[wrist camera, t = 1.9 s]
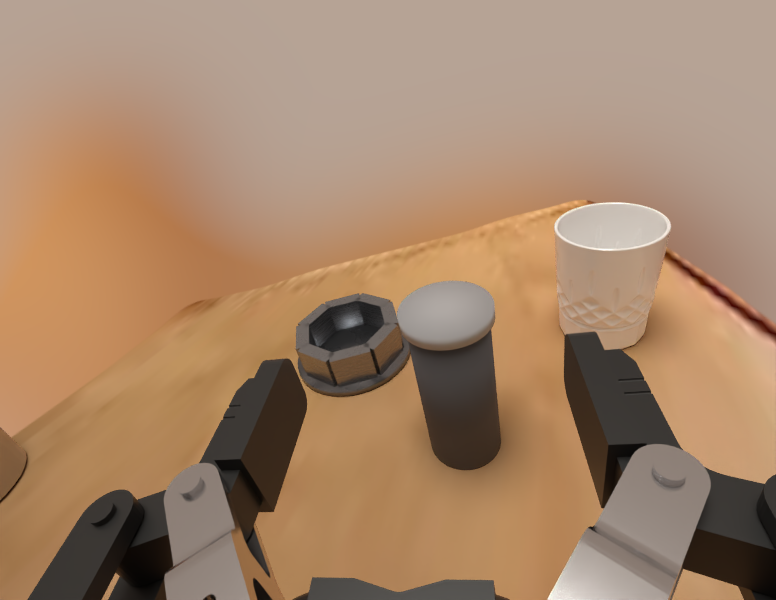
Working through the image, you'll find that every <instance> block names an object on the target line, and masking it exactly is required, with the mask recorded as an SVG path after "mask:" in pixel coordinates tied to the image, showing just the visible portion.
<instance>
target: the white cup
mask: <svg viewBox="0 0 776 600" xmlns="http://www.w3.org/2000/svg"><path fill="white" fill-rule="evenodd" d="M670 230H671V223H670V221H669V219H668V218H667V217H666V216H665V215H664V214H662V213H661V212H659V211H657V210H654V209H652V208H649V207H646V206H642V205H637V204H631V203H616V202H612V203H597V204H591V205H586V206H582V207H578V208H575V209H573V210H570V211H568V212H566V213H565V214H563V215H562V216H560V217H559V218H558V219H557V221H556V222H555V225H554V233H555V258H556V282H557V297H558V302H559V320H560V327H561V329H562V331H563V333H564V334H565V335H566V334H571V333H582V332H593V331H595V332H596V333H597V334H598V336H599V339H600V341H601V343H602V345H603V348H604V350H611V349H623V348H626V347H629V346H632V345H634V344H636V343H637V341H638V340H639V339H640V338H641V337H642V336H643V335H644V333H645V328H646V323H647V319H648V314H649V311H650V308H651V306H652V303H653V300H654V296H655V291H656V288H657V285H658V281H659V277H660V273H661V268H662V264H663V260H664V255H665V251H666V246H667V242H668V238H669V233H670Z"/></svg>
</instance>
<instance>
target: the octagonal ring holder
mask: <svg viewBox="0 0 776 600" xmlns="http://www.w3.org/2000/svg"><path fill="white" fill-rule="evenodd" d="M325 303H326V305H325V304H321V305H320V306H319V307H318V308H316V309H315V310H314V311H313V312H312V313H310V314H309V315H308V316H307V317H306V318H304V319H303V320H302V321H301V322H300V323H298V325H299V326H297V327H296V351H297V353H298V356H299V358H298V369H299V373H300V375H301V377H302V379H303V381H304V382H305V384H306V385H307V386H308V387H309V388H311V389H312V390H314V391H316V392H318V393H321V394H324V395H328V396H337V397H338V396H353V395H357V394H362V393H365V392H368V391H371V390H373V389H376V388H378V387H380V386H381V385H383V384H385V383H386V382H388V381H389V380H391V379H392V378H393V377H394V376H396V375H397V374H398V373H399V372H400V371H401V370H402V368H403V367H404V366H405V364H406V362H407V361H408V358H409V356H410V348H409V344H408V341H407V340H406V339H405V338H404V337H403V335H402V333H401V331H400V327H399V323H398V320H397V316H396V313H395V310H394V307H393V303H392V302H390V300H388V299H384V298H380V297H376V296H372V295H368V294H364V293H362V294H361V295H359V293H358V294H355V295H351V296H347V297H343V298H339V299H335V300H331V301H327V302H325Z"/></svg>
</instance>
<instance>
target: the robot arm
mask: <svg viewBox="0 0 776 600" xmlns="http://www.w3.org/2000/svg"><path fill="white" fill-rule="evenodd" d="M564 382H565V389H566V394H567V398H568V401H569V404H570V407H571V411H572V414H573V417H574V420H575V424H576V427H577V430H578V433H579V437H580V440H581V443H582V446H583V450H584V453H585V456H586V459H587V463H588V466H589V469H590V472H591V476H592V479H593V482H594V485H595V489H596V492H597V495H598V498H599V502H600V505H601V508H604V510H603V512H602V513H601V515H600V517H599V519H598V521H597V523H596V524H595V525H594V526H593V527H591V526H590V527H588V528H587V530H586V531H585V532H584V534H583V535H582V537H581V539H580V540H579V542H578V544H577V546H576V548H575V550H574V551H573V553H572V555H571V557H570V559H569V561H568V562H567V564H566V566H565V568H564V570H563V572H562V574H561V575H560V577H559V579H558V581H557V583H556V585H555V586H554V588H553V590H552V592H551V594H550V596H549V597H548V599H547V600H672V598H673V595H674V592H675V590H676V587H677V584H678V582H679V579H680V576H681V574H682V571H683V569H686V570H689V571H692V572H695V573H698V574H702V575H705V576H708V577H711V578H714V579H717V580H721V581H724V582H727V583H730V584H733V585H736V586H738V587H739V589H740V591H741V594H742V596H743V598H744V600H776V475H774V476H772V477H771V478H769V479H768V480H767V482H766V483H765V484H762V483H757V482H753V481H748V480H744V479H739V478H735V477H730V476H726V475H723V474H719V473H717V472H714V471H711V470H709V469H707V468H705V467H704V466H703V465H702V464H701V463H700V462H699V461H698V460H697V459H696V458H695V457H693V456H692V455H691V454H689V453H687V452H686V451H683V449H682V448H681V447H680V445H679V444H678V442H677V440H676V438H675V436H674V434H673V432H672V430H671V428H670V427H669V425H668V423H667V421H666V419H665V417H664V415H663V413H662V411H661V409H660V407H659V405H658V404H657V402H656V400H655V398H654V396H653V394H651V390H650V388H649V386H648V384H647V383H646V381H644V377H643V375H642V373H641V371H640V369H639V367H638V365H637V363H636V362H635V361H634V360H633V359H632V358H630V357H629V356H628V355H627V354H626V353H624V352H623V351H622V350H621V349H611V350H604V348H603V345H602V343H601V341H600V339H599V336H598V334H597V333H596V332H595V331H593V332H582V333H571V334H566V335H565V349H564ZM306 410H307V398H306V394H305V391H304V389H303V386H302V384H301V382H300V380H299V377H298V375H297V373H296V371H295V368H294V366H293V364H292V362H291V360H290V359H276V360H265V361H263V362H262V363H261V365H260V367H259V369H258V371H257V373H256V375H255V377H254V378H250V379H248V380H247V381H246V382H245V383H244V384H243V385H242V386H241V387H240V388H239V389H238V390H237V391H236V393H235V395H234V397H233V399H232V401H231V403H230V405H229V408H228V409H227V411H226V412H225V414H224V416H223V420H221V422H220V424H219V426H218V428H217V430H216V432H215V434H214V436H213V438H212V440H211V441H210V443H209V445H208V447H207V449H206V451H205V453H204V455H203V457H202V459H201V461H200V462H199V464H195V465H193V466H191V467H189V468H187V469H185V470H184V471H182V472H181V473H180V474H178V475H177V476H176V477H175V478H174V479H173V481H172V482H171V483H170V485H169V486H168V488H167V490H165V491H162V492H159V493H156V494H153V495H150V496H147V497H144V498H141V499H138V500H137V499H136V498H135V497H134V496H133V495H132V494H131V493H130V492H129V491H127V490H115V491H112V492H110V493H107V494H105V495H104V496H102V497H100V498H99V499H97V500H96V501H95V502H94V503H92V504H91V505H90V506H89V507H88V508H87V509H86V510H85V512H84V513H83V514H82V515H81V517H80V518H79V520H78V521H77V523H76V525H75V526H74V528H73V529H72V531H71V532H70V534H69V536H68V537H67V539H66V540H65V542H64V543H63V545H62V546H61V548H60V550H59V551H58V553H57V554H56V556H55V557H54V559H53V561H52V562H51V564H50V565H49V567H48V568H47V570H46V571H45V573H44V575H43V576H42V578H41V579H40V581H39V582H38V584H37V586H36V587H35V589H34V590H33V592H32V593H31V595H30V596H29V598H28V600H101V599H102V598H103V596H104V594H105V592H106V590H107V588H108V586H109V584H110V582H111V580H112V578H113V576H114V574H115V572H116V573H117V574H118V575H119V576H120V577H119V579H118V581H117V583H116V585H115V587H114V589H113V591H112V593H111V595H110V597H109V599H108V600H285V598H284V597H283V595H282V593H281V591H280V589H279V586H278V584H277V582H276V579H275V576H274V573H273V570H272V568H271V565H270V562H269V559H268V556H267V553H266V551H265V548H264V545H263V542H262V539H261V537H260V534H259V531H258V528H257V526H256V524H255V520H256V518H257V515H258V512H274V509H275V506H276V503H277V500H278V497H279V494H280V491H281V488H282V485H283V482H284V479H285V476H286V473H287V469H288V466H289V463H290V460H291V457H292V454H293V451H294V448H295V445H296V442H297V439H298V436H299V433H300V430H301V427H302V424H303V420H304V417H305V414H306ZM26 459H27V457H26V452H25V451H24V450H23V449H22V448H21V447H20V446H19V445H18V444H17V443H16V442H15V441H14V440H13V439H12V438H11V437H10V436H9V435H8V434H7V433H6V432H5V431H4V430H2V428H0V500H1V499H2V498H3V497H4V496H5V495H6V494H7V493H8V491H9V490H10V489H11V488H12V487H13V486H14V484H15V483H16V481H17V480H18V478H19V477H20V475H21V474H22V472H23V469H24V467H25V464H26ZM293 600H509V599H507V598H504V597H502V596H499V595H496V593H495V587H494V581H493V580H443V581H439V582H436V583H432V584H429V585H425V586H421V587H418V588H414V589H410V590H407V591H403V592H394V591H391V590H388V589H385V588H382V587H379V586H376V585H373V584H370V583H367V582H364V581H361V580H358V579H355V578H312V581H311V586H310V590H309V593H305V594H303V595H301V596H299V597H296V598H294V599H293Z"/></svg>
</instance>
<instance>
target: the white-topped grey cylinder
mask: <svg viewBox="0 0 776 600" xmlns="http://www.w3.org/2000/svg"><path fill="white" fill-rule="evenodd" d="M397 318H398V323H399V327H400V331H401V333H402V335H403V337H404V338H405V339H406V340H407V341H408V344H409V348H410V352H411V357H412V361H413V366H414V370H415V374H416V379H417V383H418V388H419V392H420V396H421V401H422V405H423V410H424V414H425V418H426V423H427V427H428V432H429V436H430V440H431V445H432V449H433V451H434V453H435V455H436V456H437V458H438V459H439V460H440V461H441V462H443V463H444V464H446V465H447V466H449V467H452V468H455V469H460V470H472V469H477V468H480V467H482V466H484V465H486V464H488V463H489V462H490V461H492V460H493V459H494V457H495V456H496V455H497V453H498V451H499V449H500V444H501V437H500V426H499V414H498V403H497V392H496V380H495V369H494V358H493V346H492V335H491V328H492V327H493V324H494V322H495V307H494V300H493V298H492V296H491V295H490V293H489V292H488V291H487V290H485V289H484V288H482V287H480V286H478V285H476V284H473V283H469V282H463V281H444V282H437V283H433V284H430V285H426V286H424V287H421V288H419V289H417V290H415V291H414V292H412V293H411V294H409V295H408V296H407V297H406V298H405V299H404V300H403V301H402V302H401V304H400V306H399V308H398V311H397Z"/></svg>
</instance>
